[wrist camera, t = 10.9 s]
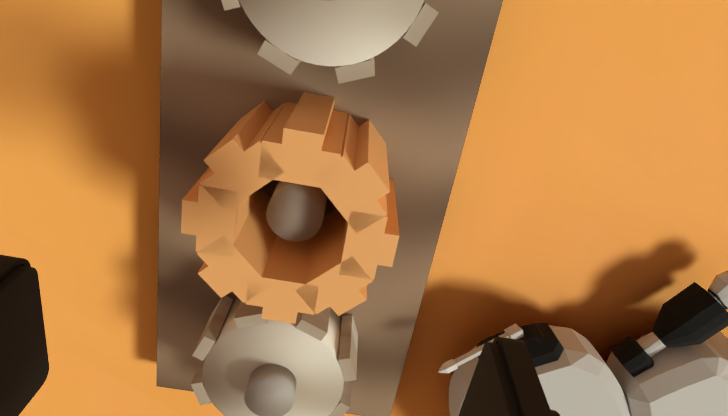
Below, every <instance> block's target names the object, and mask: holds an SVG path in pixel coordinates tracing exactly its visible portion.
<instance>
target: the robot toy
mask: <svg viewBox="0 0 728 416" xmlns="http://www.w3.org/2000/svg"><path fill="white" fill-rule="evenodd" d="M725 309H728V271H725V272H723V273H721V274H719V275H716V277H715V278H714V280H713V282H712V284H711V285H710V287H709V289H708V292H707V291H706V290H705V289H703V288H702V287H701V286H699V285H698V284H696V283H695V282H694V283H693V284H691V285H690V286H689V287H687V288H686V289H684V290H683V291H681V292H680V293H679V294H677V295H676V296H674V297H673V298H672V299H670V300H669V301H667V302H666V303H664V304H663V305H662V308H661V310H660V312H659V315H658V317H657V319H656V322H655V325H654V328H653V331H652V332H651V333H649V334H646V335H644V336H641V338H639V339H637V340H635V339H633V338H630V337H627V338H626V339H624V340H623V341H621V342H620V343H618V344H617V345H616V346H614V347H613V348H611V349H610V350H611V351H612V352H611V353H610V355H609V357H608V360H607V362H606V363H605V362H604V360H603V359H602V358H601V356H600V355H599V354H598V352H597V351H596V349H595V348H594V347H593V345H592V344H591V343H590V342H589V341H588V340H587V338H585V337H584V336H582V335H581V334H579V333H578V332H576V331H574V330H573V329H571V328H566V327H558V326H551V325H548V324H547V323H535V324H531V325H525V326H522V327H519V326H518V325H517V324H516V323H515V324H513V325H512V326H510V327H508V328H506V329H504V332H502V333H499V334H496V335H494V336H492V337H489V338H486V339H484V340H483V341H481V342H480V343H479V344H478V345H477V346H475V347H474V348H473V349H471V350H470V351H469V352H467V353H466V354H464V355H462V356H460V357H458V358H456V359H454V360H453V359H451V360H449V361H447V362H445V363H443V364H442V366H441V367H440V369H439V371H438V373H450V372H452V371H454V370H455V371H454V373H453V375H452V377H451V380H450V386H449V411H450V416H458V415H459V412H460V410H461V407H462V404H463V401H464V399H465V396H466V393H467V390H468V388H469V385H470V382H471V379H472V376H473V374H474V371H475V368H476V365H477V363H478V360H479V357H480V354H481V352H482V349H483V346H484V344H485V343H486V342H493V340H494V339H495V338H496V337H498V336H499V337H505V338H511V339H517V340H523V341H524V342H525V343H526V345H527V348H528V350H529V353H530V356H531V358H532V361H533V364H534V367H535V369H536V372H537V375H538V377H539V380H540V383H541V386H542V388H543V391H544V394H545V396H546V399H547V402H548V404H549V407H550V410H555V411H557V412H558V413H559V414H560V416H728V338H726V337H725V336H724V335H723V334H722V333H721V332H720V331H721V330H722V329H724V328H725V327H727V326H728V312H727V311H726V310H725Z"/></svg>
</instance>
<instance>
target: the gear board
mask: <svg viewBox="0 0 728 416" xmlns="http://www.w3.org/2000/svg"><path fill="white" fill-rule="evenodd" d="M502 2H503V0H162V26H161V99H160V172H159V244H158V317H157V386H159V387H166V388H173V389H180V390H187V391H194V393H195V395H196V397H197V399H198V401H199V403H200V405H202V404H209V403H211V402H212V403H213V404H214V406H215V407H216V408H217V409H218V410H219V411H220V412H221V413H223V414H224V415H225V416H343V415H344V414H345V413H347V414H354V415H361V416H390V415H391V411H392V408H393V404H394V400H395V397H396V393H397V389H398V386H399V382H400V378H401V375H402V371H403V367H404V363H405V360H406V356H407V352H408V349H409V345H410V341H411V338H412V334H413V330H414V327H415V323H416V319H417V316H418V312H419V308H420V304H421V301H422V297H423V293H424V290H425V286H426V282H427V279H428V275H429V271H430V268H431V264H432V260H433V256H434V253H435V249H436V245H437V242H438V238H439V234H440V231H441V227H442V223H443V220H444V216H445V212H446V208H447V205H448V201H449V197H450V194H451V190H452V186H453V183H454V179H455V175H456V172H457V168H458V164H459V161H460V157H461V153H462V149H463V146H464V142H465V138H466V135H467V131H468V127H469V124H470V120H471V116H472V113H473V109H474V105H475V101H476V98H477V94H478V90H479V87H480V83H481V79H482V76H483V72H484V68H485V65H486V61H487V57H488V54H489V50H490V46H491V42H492V39H493V35H494V31H495V28H496V24H497V20H498V17H499V13H500V9H501V6H502ZM304 92H307V93H312V94H318V95H323V96H329V97H335V99H334V106H333V110H335V111H340V112H346V113H348V115H349V114H350V115H351V116H352V118H353V119H354V121H355V122H356V123H357V125H358V126H360V125H361V124H363V123H364V122H366V121H367V120H370V121H371V123H372V124H373V126H374V127H375V128H376V130H377V131H378V133H379V134H380V136H381V137H382V138H383V140H384V141H385V143H386V149H387V161H388V173H389V179H394V188H395V198H396V207H397V217H398V227H399V240H398V244H397V249H396V253H395V257H394V261H393V266H392V267H388V266H382V265H377V269H376V273H375V278H374V280H373V282H371V283H369V284H368V285H367V300H366V301H364V302H362V303H361V304H359V305H357V306H355V307H354V308H352V309H350V310H348V311H347V312H345V313H343V314H341V315H340V316H338V315H337V314H336V313H335V312H334V310H333V309H332V308H331V307H328V308H326V309H325V310H323V311H321V312H320V313H318V314H315V312H314V315H312V314H306V313H299V312H298V314H297V318H296V323H295V324H294V323H288V322H281V321H275V320H268V319H262V309H263V307H260V306H254V305H247V304H246V302H245V303H243V302H242V301H241V300H240V299H239V298H238V297H237V296H236V295H235V294H234V293H233V292H230V293H228V294H227V295H225V296H224V297H222V298H221V297H220V296H219V295H218V294H217V293H216V292H215V291H214V290H213V289H212V288H211V287H210V286H209V285H208V284H207V283H206V282H205V281H204V280H203V279H202V278H201V277H200V275H199V274H198V272H199V270H200V268H201V267H202V265H203V263H204V261H203V260H202V259H201V258H200V257H199V256H198V255H197V252H196V235H190V234H184V233H181V217H182V199H183V198H184V197H185V196H186V195H187V193H188V192H189V191H190V190H191V188H192V187H193V186H194V185H195V184H196V182H197V181H198V180H199V179H200V178H201V176H202V175H203V174H204V173H205V172H206V170H207V169H208V168H209V166H208V165H207V164H206V163H205V162H204V159H205V158H206V157H207V156H208V155H209V153H210V152H211V151H212V150H213V149H214V148H215V147H216V146H217V144H218V143H219V142H220V141H221V140H222V139H223V138H224V137H225V135H226V134H227V133H228V132H229V131H230V130H231V129H232V128H233V126H234V125H235V124H236V123H237V122H238V121H239V120H240V119H241V118H242V117H243V116H244V115H246V114H247V113H248V112H250V111H251V110H253V109H254V108H255V107H257V106H258V105H259V104H261V103H262V102H263V101H265V102H266V103H267V104H268V105H269V107H270V108H271V109H272V111H274V110H275V109H276V108H278V107H279V106H281V105H282V104H283V103H286V102H290V103H296V104H297V103H298V102H299V100H300V98H301V96H302V94H303V93H304ZM262 188H263V189H264V190H265V191H266V192H267V194H268V195H269V196H270V197H271V200H270V202H269V204H268V207H267V211H266V217H267V222H268V224H269V226H270V228H271V229H272V231H273V232H274V233H275V234H277V235H278V236H279V237H281V238H283V239H285V240H289V241H304V240H307V239H310V238H311V237H313V236H314V235H315V234H316V233H317V232H318V231H319V230H320V228H321V226H322V223H323V218H324V216H326V215H328V214H329V213H331V212H332V211H334V210H335V209H337V208H336V207H335V206H334V204H333V203H332V202H331V200H330V199H329V198H328V197H327V195H326V194H325V193H324V192H323V190H322V189H321V188H319V187H313V186H307V185H301V184H295V183H289V182H283V181H277V180H272V181H270V182H269V183H267V184H266V185H264V186H263V187H262Z"/></svg>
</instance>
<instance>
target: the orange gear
mask: <svg viewBox="0 0 728 416" xmlns="http://www.w3.org/2000/svg"><path fill="white" fill-rule="evenodd" d="M334 99H335V97H329V96H323V95H318V94H312V93H307V92H304V93H303V94H302V96H301V98H300V100H299V102H298V103H297V104H296V103H290V102H286V103H283V104H282V105H281V106H279V107H278V108H276V109H275V110H274V111H272V109H271V108H270V107H269V105H268V104H267V103H266V102H265V101H263V102H262V103H261V104H259V105H258V106H257V107H255V108H254V109H253V110H251V111H250V112H248V113H247V114H246V115H244V116H243V117H242V118H241V119H240V120H239V121H238V122H237V123H236V124H235V125H234V126H233V128H232V129H231V130H230V131H229V132H228V133H227V134H226V135H225V137H224V138H223V139H222V140H221V141H220V142H219V143H218V144H217V146H216V147H215V148H214V149H213V150H212V151H211V152H210V153H209V155H208V156H207V157H206V158H205V159H204V162H205V163H206V164H207V165H208V166H209V168H208V169H207V170H206V172H205V173H204V174H203V175H202V176H201V178H200V179H199V180H198V181H197V182H196V184H195V185H194V186H193V187H192V188H191V190H190V191H189V192H188V193H187V195H186V196H185V197H184V198H183V199H182V217H181V233H184V234H190V235H196V252H197V255H198V256H199V257H200V258H201V259H202V260H203V261H204V263H203V265H202V267H201V268H200V270H199V272H198V274H199V275H200V277H201V278H202V279H203V280H204V281H205V282H206V283H207V284H208V285H209V286H210V287H211V288H212V289H213V290H214V291H215V292H216V293H217V294H218V295H219V296H220V297H221V298H222V297H224V296H225V295H227V294H228V293H230V292H233V293H234V294H235V295H236V296H237V297H238V298H239V299H240V300H241V301H242V302H243V303H245V302H246V304H247V305H254V306H260V307H263V309H262V319H268V320H275V321H281V322H288V323H294V324H295V323H296V318H297V314H298V312H299V313H306V314H312V315H314V312H315V314H318V313H320V312H321V311H323V310H325V309H326V308H328V307H331V308H332V309H333V310H334V312H335V313H336V314H337V315H338V316H340V315H341V314H343V313H345V312H347V311H348V310H350V309H352V308H354V307H355V306H357V305H359V304H361V303H362V302H364V301H366V300H367V285H368V284H369V283H371V282H373V280H374V278H375V273H376V269H377V265H382V266H388V267H392V266H393V261H394V257H395V253H396V249H397V244H398V240H399V227H398V217H397V207H396V198H395V188H394V179H389V173H388V161H387V149H386V143H385V141H384V140H383V138H382V137H381V136H380V134H379V133H378V131H377V130H376V128H375V127H374V126H373V124H372V123H371V121H370V120H367V121H366V122H364V123H363V124H361V125H360V126H358V125H357V123H356V122H355V121H354V119H353V118H352V116H351V115H350V114H349V115H348V113H346V112H340V111H335V110H333V106H334ZM272 180H277V181H283V182H289V183H295V184H301V185H307V186H313V187H319V188H321V189H322V190H323V192H324V193H325V194H326V195H327V197H328V198H329V199H330V200H331V202H332V203H333V204H334V206H335V207H336V208H337V209H335V210H334V211H332V212H331V213H329V214H328V215H326V216H324V218H323V223H322V226H321V228H320V230H319V231H318V232H317V233H316V234H315V235H314V236H313V237H311V238H310V239H307V240H304V241H289V240H285V239H283V238H281V237H279V236H278V235H277V234H275V233H274V232H273V231H272V229H271V228H270V226H269V224H268V222H267V217H266V211H267V207H268V204H269V202H270V200H271V197H270V196H269V195H268V194H267V192H266V191H265V190H264V189H263V188H262V187H263V186H264V185H266V184H267V183H269V182H270V181H272Z"/></svg>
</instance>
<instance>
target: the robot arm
mask: <svg viewBox="0 0 728 416" xmlns="http://www.w3.org/2000/svg"><path fill="white" fill-rule="evenodd" d="M48 371H49V362H48V354H47V346H46V337H45V329H44V321H43V313H42V305H41V297H40V289H39V281H38V273H37V270H36V269H35V268H33V267H31V266H30V263H29V262H28V260H26V259H23V258H16V257H10V256H4V255H0V416H18V415H19V414H20V413H21V412H22V410H23V409H24V408H25V407H26V405H27V404H28V403H29V402H30V400H31V399H32V398H33V396H34V395H35V394H36V393H37V391H38V390H39V389H40V388H41V386H42V385H43V383H44V382H45V380H46V378H47V375H48ZM458 416H560V414H559V413H558V412H557V411H555V410H550V407H549V404H548V402H547V399H546V396H545V394H544V391H543V388H542V386H541V383H540V380H539V377H538V375H537V372H536V369H535V367H534V364H533V361H532V358H531V356H530V353H529V350H528V348H527V345H526V343H525V342H524V341H523V340H517V339H511V338H505V337H499V336H498V337H496V338H495V339H494V340H493V342H486V343H485V344H484V346H483V349H482V352H481V354H480V357H479V360H478V363H477V365H476V368H475V371H474V374H473V376H472V379H471V382H470V385H469V388H468V390H467V393H466V396H465V399H464V401H463V404H462V407H461V410H460V412H459V415H458Z"/></svg>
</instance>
